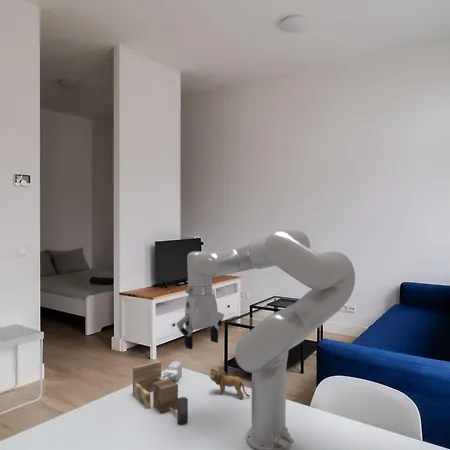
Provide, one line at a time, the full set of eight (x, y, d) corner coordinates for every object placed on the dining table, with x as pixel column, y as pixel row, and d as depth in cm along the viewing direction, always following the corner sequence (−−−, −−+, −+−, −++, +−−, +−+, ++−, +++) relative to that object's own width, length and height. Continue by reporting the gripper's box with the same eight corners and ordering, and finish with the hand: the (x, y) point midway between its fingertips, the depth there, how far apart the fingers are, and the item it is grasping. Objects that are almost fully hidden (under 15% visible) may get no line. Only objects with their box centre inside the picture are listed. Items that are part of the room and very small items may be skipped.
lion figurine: (207, 394, 142) (207, 369, 141) (213, 388, 147) (213, 364, 146) (247, 401, 137) (247, 374, 137) (251, 394, 142) (251, 369, 142)
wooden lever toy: (193, 421, 123) (193, 395, 123) (176, 427, 120) (176, 400, 120) (169, 401, 136) (169, 378, 136) (153, 406, 133) (153, 382, 133)
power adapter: (172, 387, 148) (172, 371, 148) (160, 386, 149) (160, 370, 149) (183, 375, 158) (183, 361, 158) (172, 374, 160) (172, 360, 160)
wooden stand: (175, 400, 138) (175, 371, 137) (147, 408, 132) (146, 378, 131) (159, 387, 147) (159, 360, 147) (132, 395, 141) (132, 366, 141)
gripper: (183, 295, 118) (185, 353, 118) (229, 288, 129) (230, 341, 129) (170, 292, 124) (172, 348, 124) (215, 286, 135) (216, 337, 135)
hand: (201, 344), depth 126 cm, fingers open, 9 cm apart
